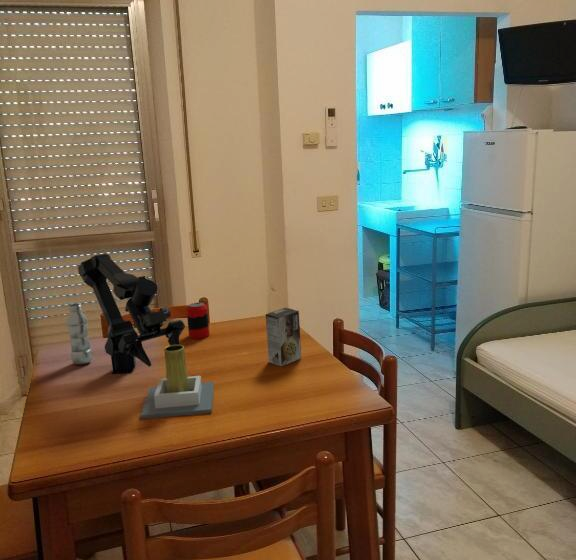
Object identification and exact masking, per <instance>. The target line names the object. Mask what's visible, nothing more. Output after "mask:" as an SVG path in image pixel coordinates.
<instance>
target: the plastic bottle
mask: <svg viewBox="0 0 576 560" xmlns="http://www.w3.org/2000/svg"><path fill="white" fill-rule="evenodd" d="M82 310H83V308H82V304H81V303H72V304H69V305H68V311H69V314H68V316H67V317H66V320H65V323H66V327H67V330H68V334H69V339H70V348H71V349H70V350H71V352H70V357H71V358H70V359H71V362H72V363H73V364H75V365H85V364H86V365H87V364H89V363H91V362H92V360H93V359H94V358H93V351H92V349H91V344H90V340H89V333H88V326H89V325H88V324H89V323H88V318H87V316H86V314H85V313H84V312H82Z"/></svg>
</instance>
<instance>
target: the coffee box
mask: <svg viewBox="0 0 576 560" xmlns="http://www.w3.org/2000/svg"><path fill="white" fill-rule="evenodd" d="M265 322H266V323H265V324H266V326H265V327H266V340H267V357H268V358H267V359H268V363H270V364H273V365H276V366H278V367H284V366H286V365H289V364H291V363H293V362H295V361H298V360H301V359H302V344H301V327H300V326H301V325H300V311H299V310H297V309H293V308H290V307H283V308H280V309H277V310H274V311H270V312H269V313H265Z"/></svg>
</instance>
